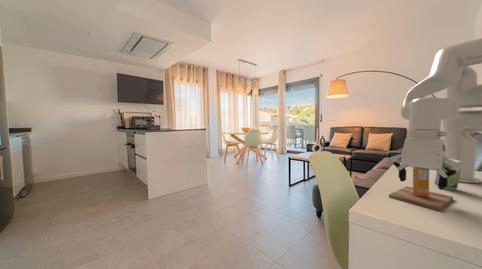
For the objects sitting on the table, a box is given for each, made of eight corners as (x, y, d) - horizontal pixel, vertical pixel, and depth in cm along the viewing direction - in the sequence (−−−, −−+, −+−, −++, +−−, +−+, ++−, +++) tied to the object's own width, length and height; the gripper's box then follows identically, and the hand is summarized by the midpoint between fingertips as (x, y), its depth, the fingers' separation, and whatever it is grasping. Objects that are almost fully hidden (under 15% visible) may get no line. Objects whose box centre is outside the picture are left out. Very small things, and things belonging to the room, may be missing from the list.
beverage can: (446, 185, 74) (447, 157, 74) (466, 192, 67) (468, 160, 67) (429, 185, 75) (430, 156, 74) (447, 191, 68) (449, 160, 67)
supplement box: (411, 192, 64) (412, 165, 64) (423, 194, 63) (425, 165, 62) (416, 196, 61) (417, 167, 60) (429, 197, 60) (430, 168, 59)
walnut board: (406, 188, 71) (406, 186, 71) (453, 199, 61) (453, 196, 61) (388, 197, 63) (388, 194, 63) (438, 211, 52) (438, 207, 52)
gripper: (466, 135, 55) (463, 190, 56) (396, 133, 70) (394, 176, 71) (460, 136, 51) (457, 195, 52) (387, 134, 66) (385, 179, 67)
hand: (421, 184), depth 61 cm, fingers open, 9 cm apart
